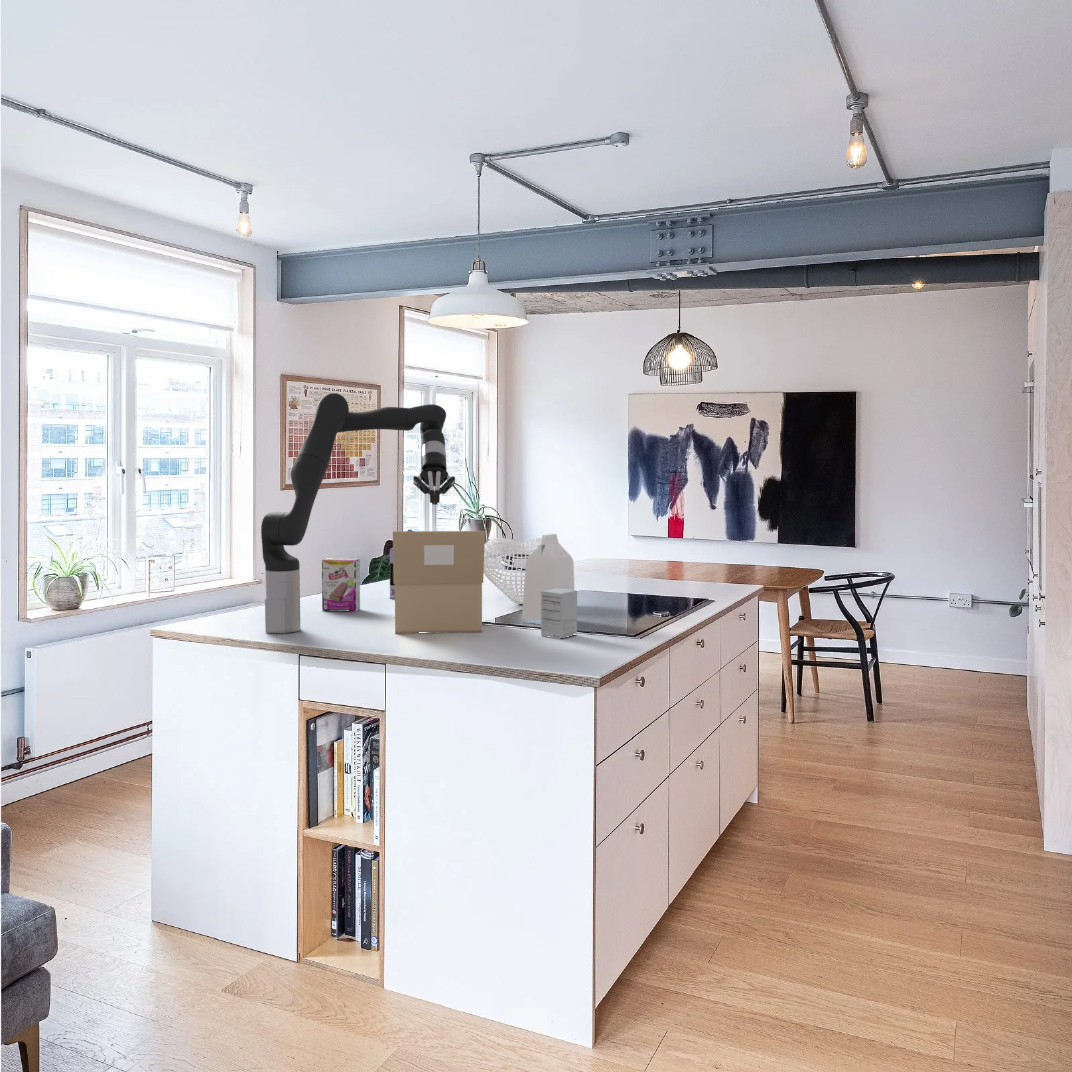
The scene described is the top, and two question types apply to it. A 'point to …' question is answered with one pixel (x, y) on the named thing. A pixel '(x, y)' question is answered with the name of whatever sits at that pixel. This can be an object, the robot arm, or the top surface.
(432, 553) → the carton lid
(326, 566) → the candy bar box
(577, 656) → the top surface
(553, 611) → the supplement box
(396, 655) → the top surface
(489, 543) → the white mesh basket
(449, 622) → the carton
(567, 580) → the milk
